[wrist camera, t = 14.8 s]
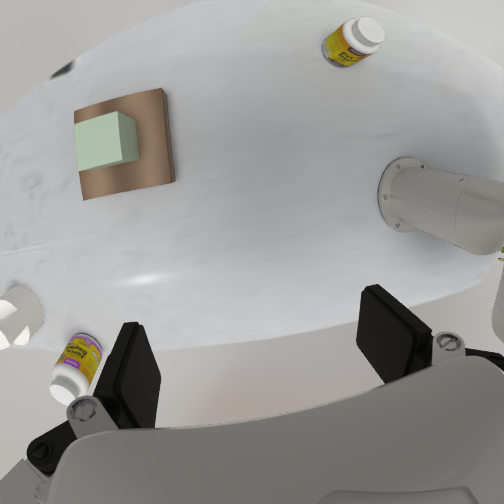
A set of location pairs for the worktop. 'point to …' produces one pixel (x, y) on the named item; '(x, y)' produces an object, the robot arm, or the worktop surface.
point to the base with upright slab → (19, 316)
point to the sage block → (106, 141)
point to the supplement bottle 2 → (353, 41)
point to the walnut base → (149, 144)
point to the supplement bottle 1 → (75, 369)
